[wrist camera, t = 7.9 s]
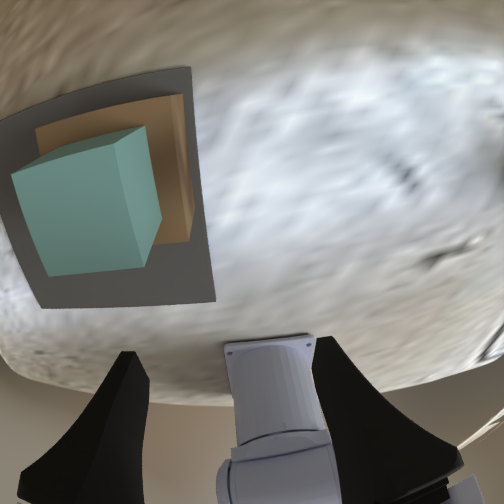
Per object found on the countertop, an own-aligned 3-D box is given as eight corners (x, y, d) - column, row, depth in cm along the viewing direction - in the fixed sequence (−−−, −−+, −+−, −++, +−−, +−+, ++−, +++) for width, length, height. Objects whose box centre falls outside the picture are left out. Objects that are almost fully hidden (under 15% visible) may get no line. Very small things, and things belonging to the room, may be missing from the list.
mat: (215, 298, 22) (216, 301, 22) (43, 305, 21) (41, 308, 21) (191, 67, 14) (190, 66, 13) (-17, 130, 13) (-20, 131, 12)
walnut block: (195, 208, 18) (188, 241, 14) (92, 220, 17) (68, 253, 14) (182, 93, 14) (170, 95, 11) (70, 117, 14) (35, 129, 10)
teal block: (162, 218, 14) (144, 267, 10) (82, 230, 13) (48, 276, 10) (145, 125, 11) (113, 143, 8) (59, 147, 11) (10, 174, 8)
